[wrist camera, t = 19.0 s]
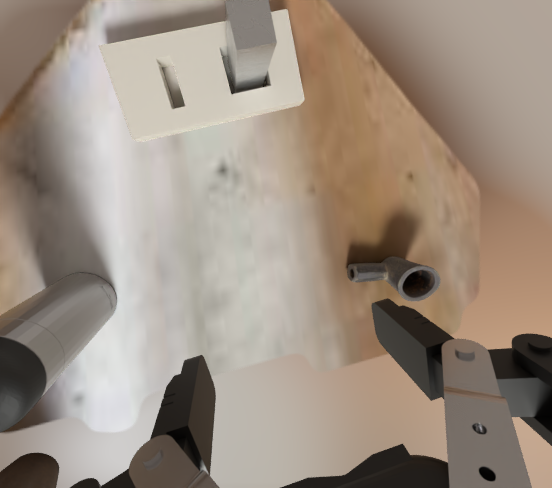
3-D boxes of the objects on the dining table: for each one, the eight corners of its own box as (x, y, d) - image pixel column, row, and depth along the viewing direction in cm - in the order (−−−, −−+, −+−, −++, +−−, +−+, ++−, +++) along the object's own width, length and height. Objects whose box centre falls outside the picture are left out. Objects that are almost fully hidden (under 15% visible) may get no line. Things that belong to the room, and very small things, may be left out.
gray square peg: (235, 93, 39) (236, 50, 26) (227, 63, 38) (225, 1, 25) (261, 88, 40) (277, 42, 26) (255, 57, 39) (267, -7, 25)
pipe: (346, 253, 48) (368, 267, 40) (412, 251, 50) (444, 265, 42) (344, 285, 50) (364, 305, 42) (407, 282, 52) (438, 300, 44)
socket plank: (139, 142, 39) (132, 139, 36) (109, 56, 36) (98, 45, 33) (299, 105, 41) (304, 100, 38) (283, 21, 38) (287, 8, 35)
